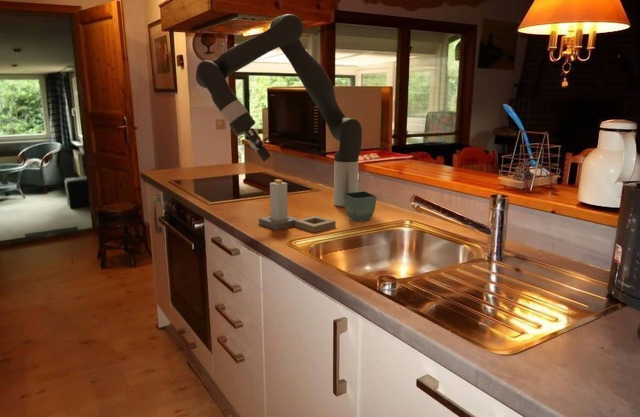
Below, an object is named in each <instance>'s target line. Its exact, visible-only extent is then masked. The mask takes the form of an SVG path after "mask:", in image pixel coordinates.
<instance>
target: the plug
mask: <svg viewBox="0 0 640 417" xmlns="http://www.w3.org/2000/svg"><path fill="white" fill-rule="evenodd" d="M269 206H270V207H269V209H270V215H269V216H270V219H271V220H274V221H277V222H279V221H283V220H288V218H287V215H288V183H287V182H285V181H284V182H283V180H282V179H274V182H269Z"/></svg>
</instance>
